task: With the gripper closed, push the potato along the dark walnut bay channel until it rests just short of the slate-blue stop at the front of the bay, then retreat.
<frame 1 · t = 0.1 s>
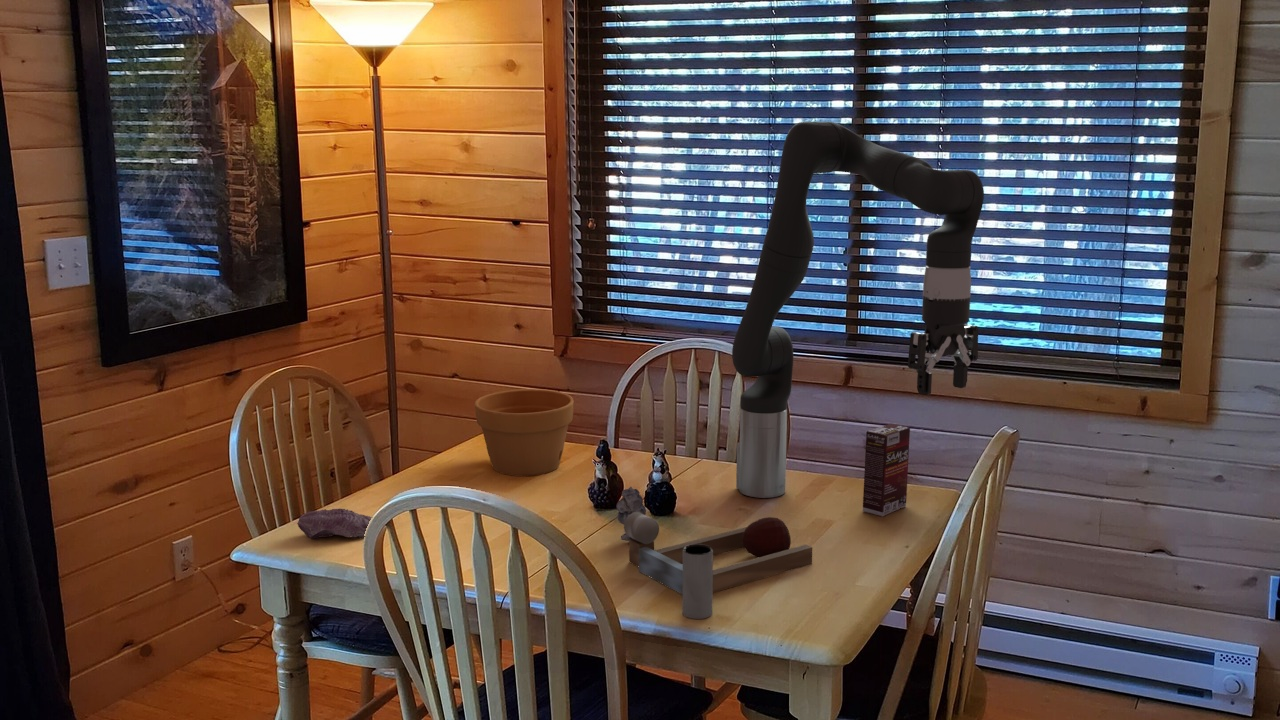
hand: (941, 390, 197), 29 cm above the table, fingers open, 8 cm apart
grey tube: (697, 614, 181), on the table
bay: (729, 566, 200), on the table
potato: (766, 558, 204), on the table
flower pot: (525, 467, 257), on the table
seashell: (632, 541, 212), on the table
supplement box: (884, 510, 228), on the table
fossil: (338, 537, 216), on the table
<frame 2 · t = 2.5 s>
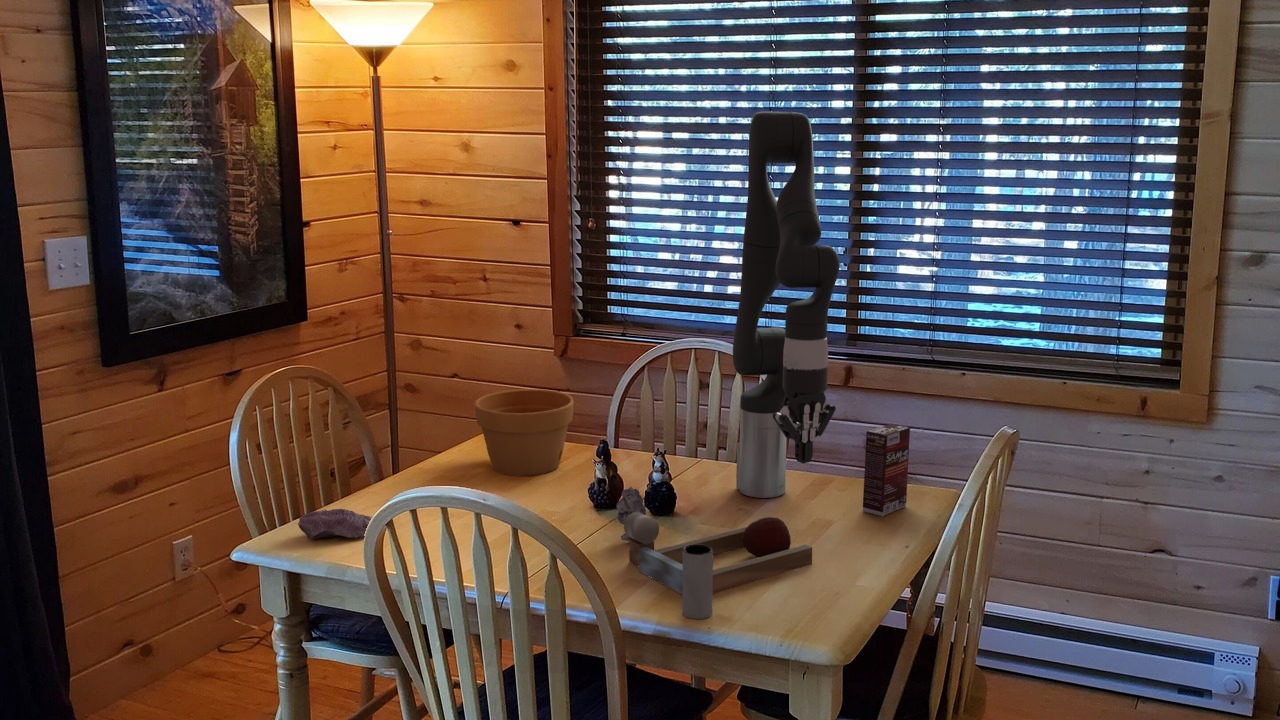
hand: (803, 461, 205), 16 cm above the table, fingers closed
nothing on the table moved.
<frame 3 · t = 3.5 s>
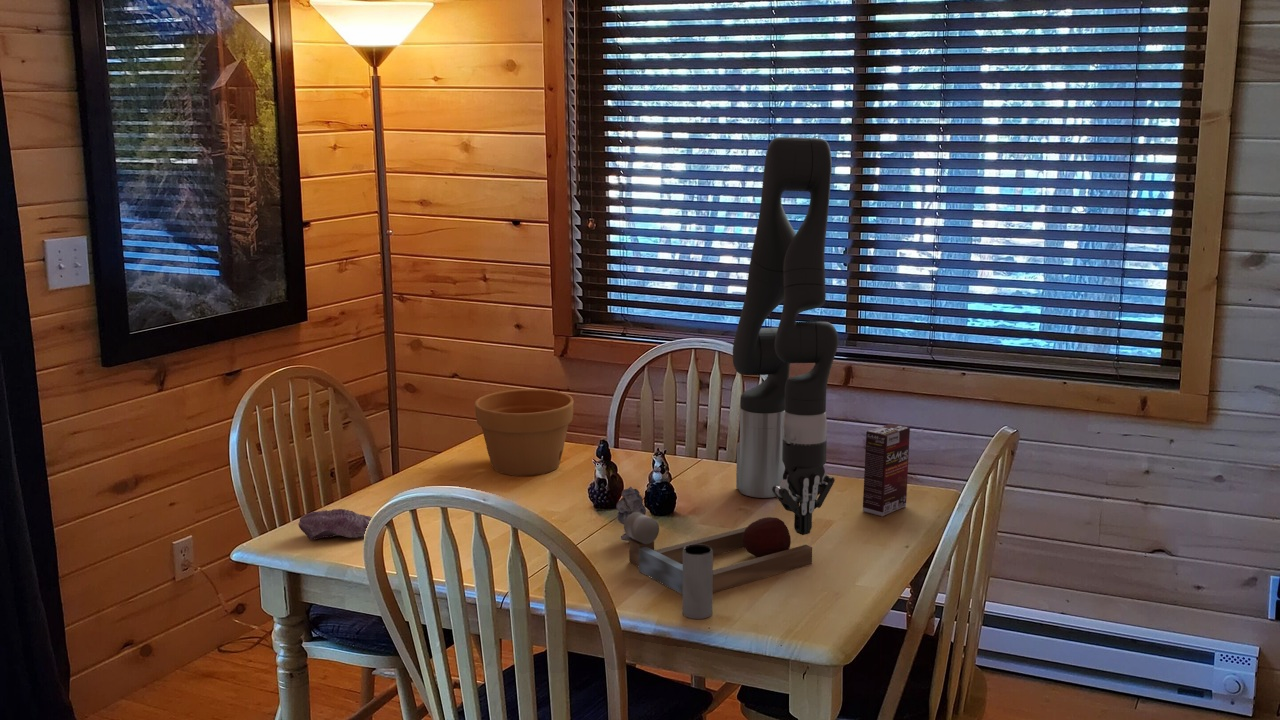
hand: (802, 533, 208), 3 cm above the table, fingers closed
nothing on the table moved.
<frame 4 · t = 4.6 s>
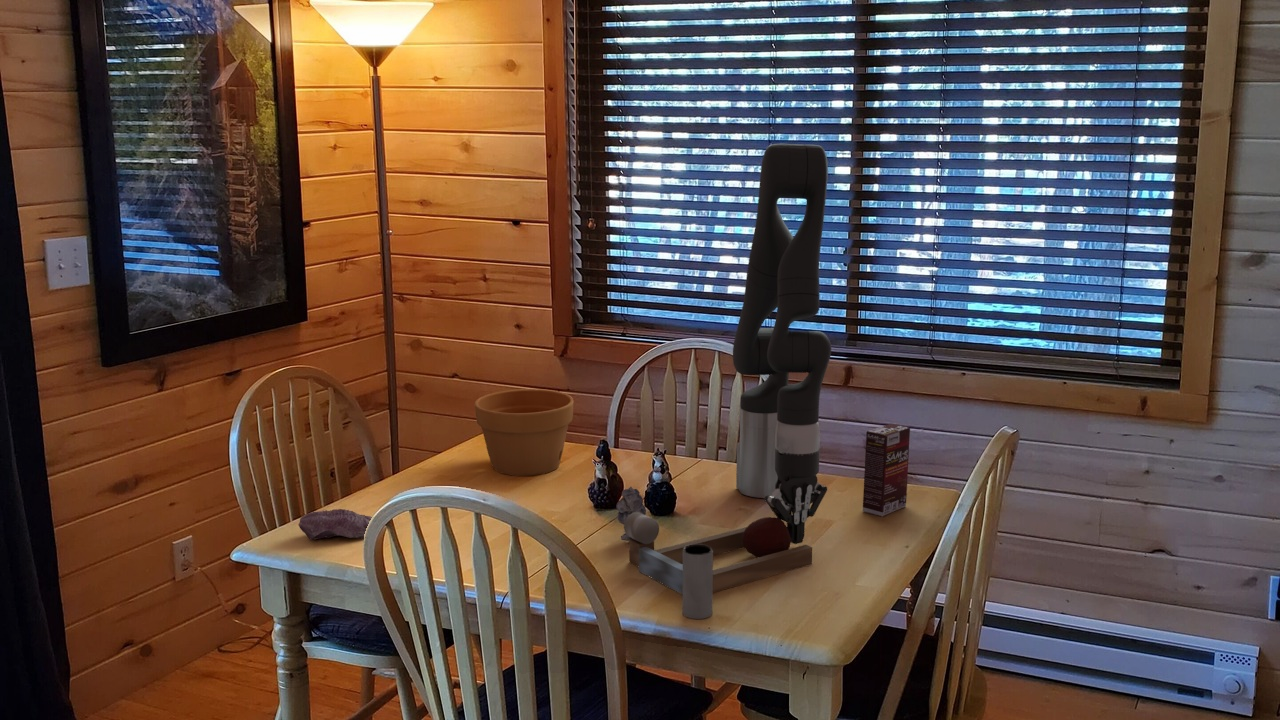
hand: (795, 542, 207), 1 cm above the table, fingers closed
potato: (766, 558, 204), on the table, touching gripper, hand
everything else where it was.
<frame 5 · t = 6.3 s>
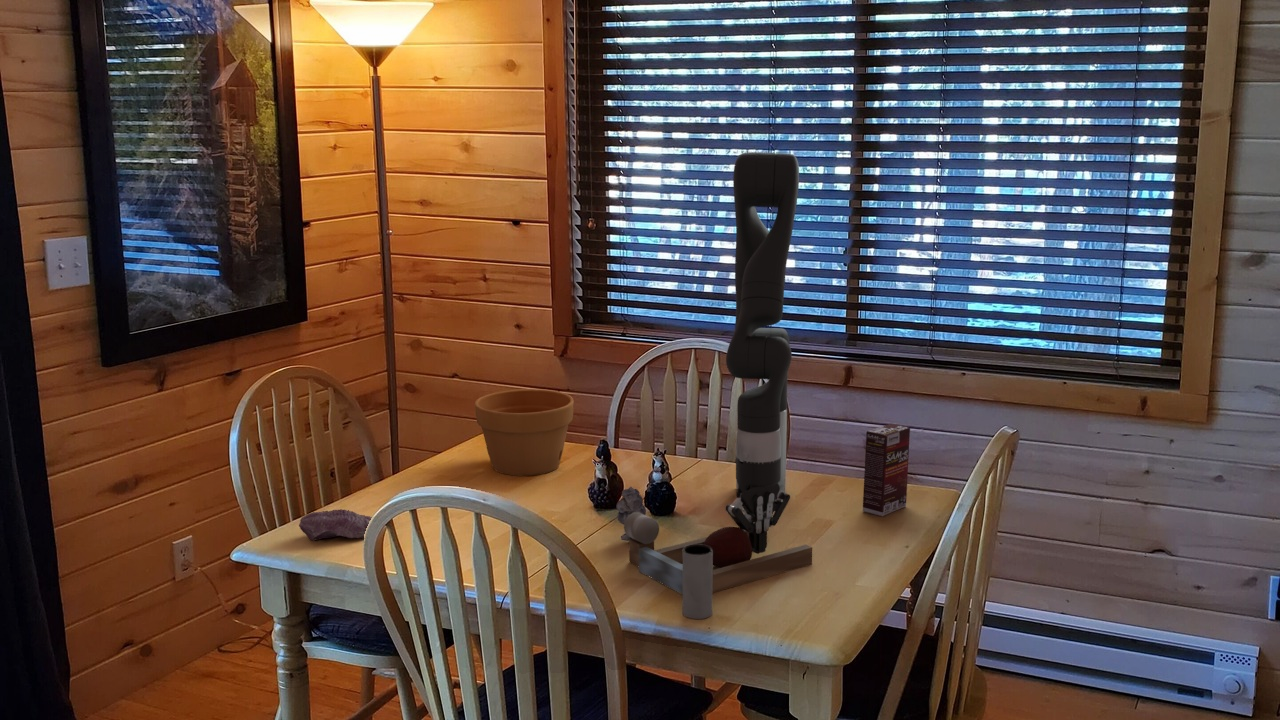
hand: (757, 551, 203), 1 cm above the table, fingers closed
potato: (727, 568, 199), on the table, touching gripper, hand
everything else where it was.
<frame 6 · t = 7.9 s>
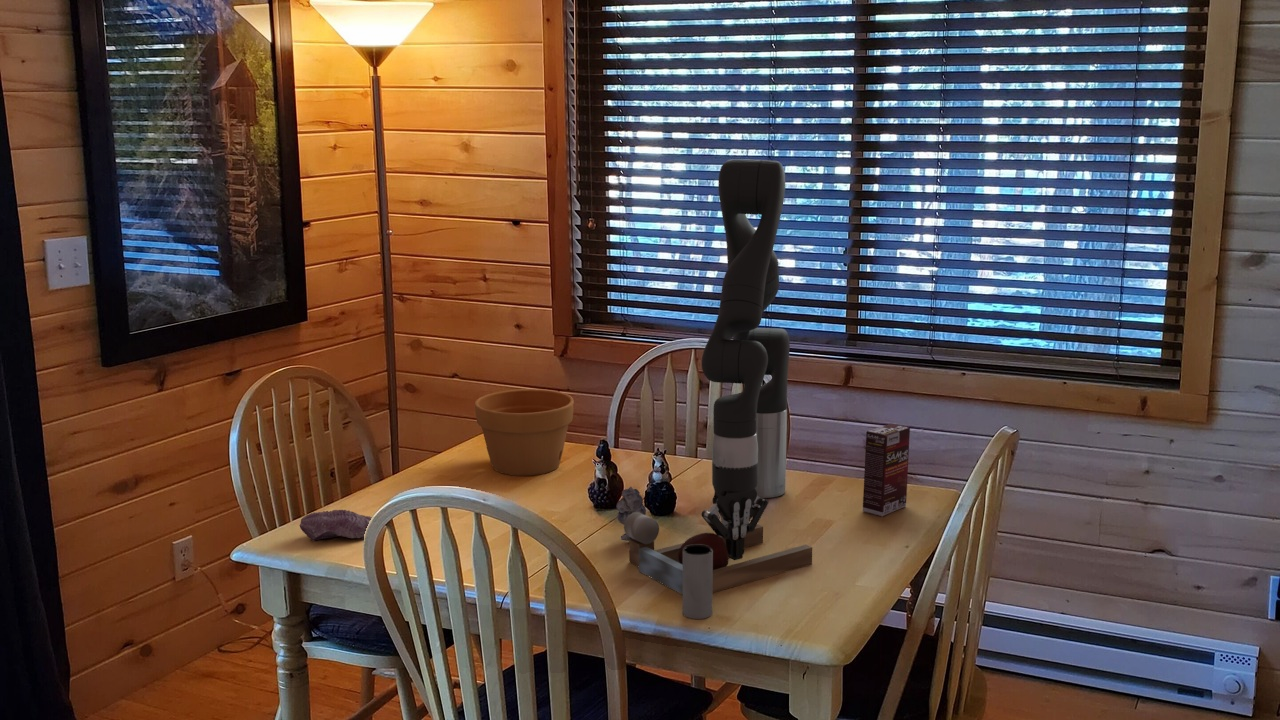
hand: (735, 558, 200), 1 cm above the table, fingers closed
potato: (703, 575, 196), on the table, touching gripper, hand
everything else where it was.
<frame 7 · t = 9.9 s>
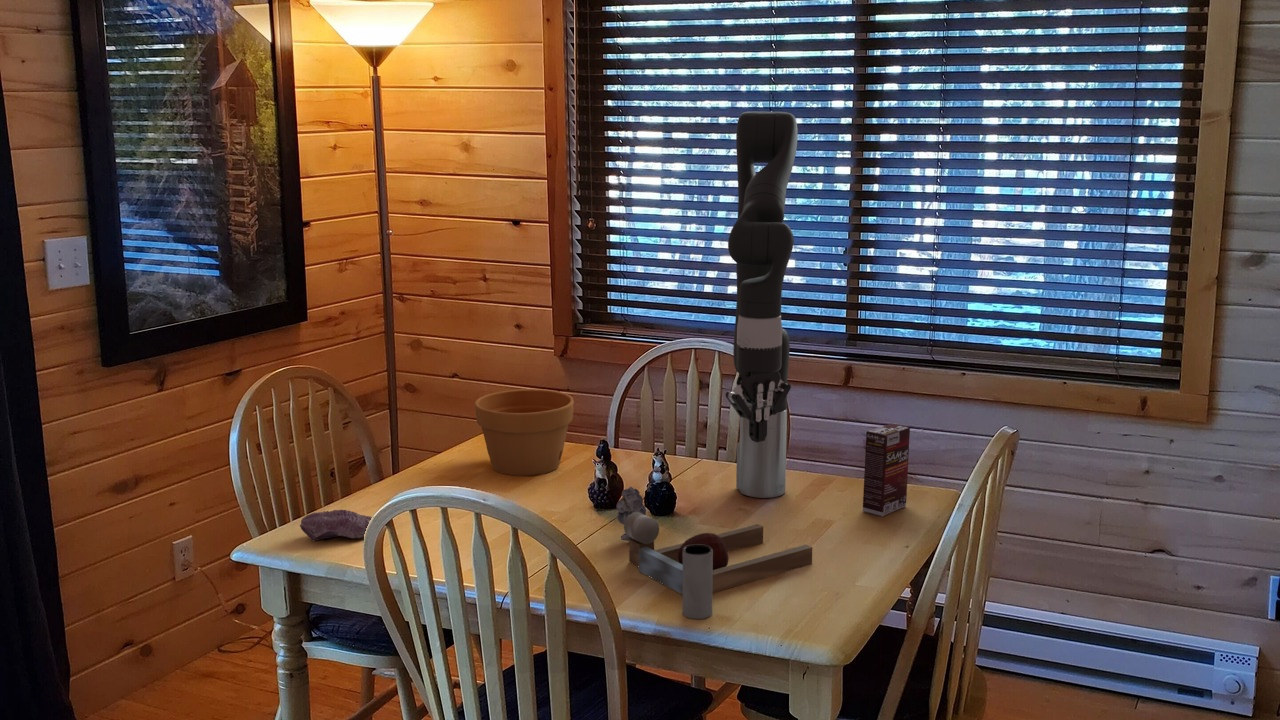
hand: (757, 440, 203), 20 cm above the table, fingers closed
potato: (703, 575, 196), on the table
everything else where it was.
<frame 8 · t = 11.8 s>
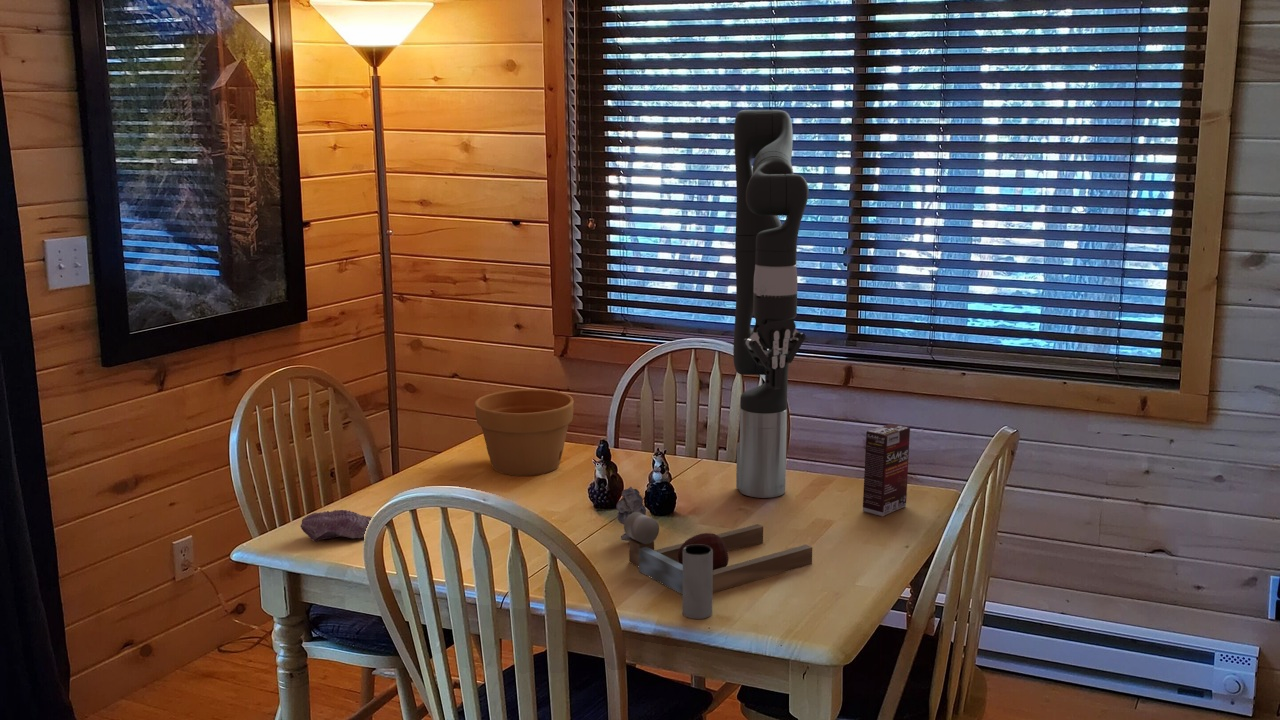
hand: (773, 388, 209), 27 cm above the table, fingers closed
at the end: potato inside the target area (2.4 cm from its centre), on the table; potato moved 13.6 cm from its start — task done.
